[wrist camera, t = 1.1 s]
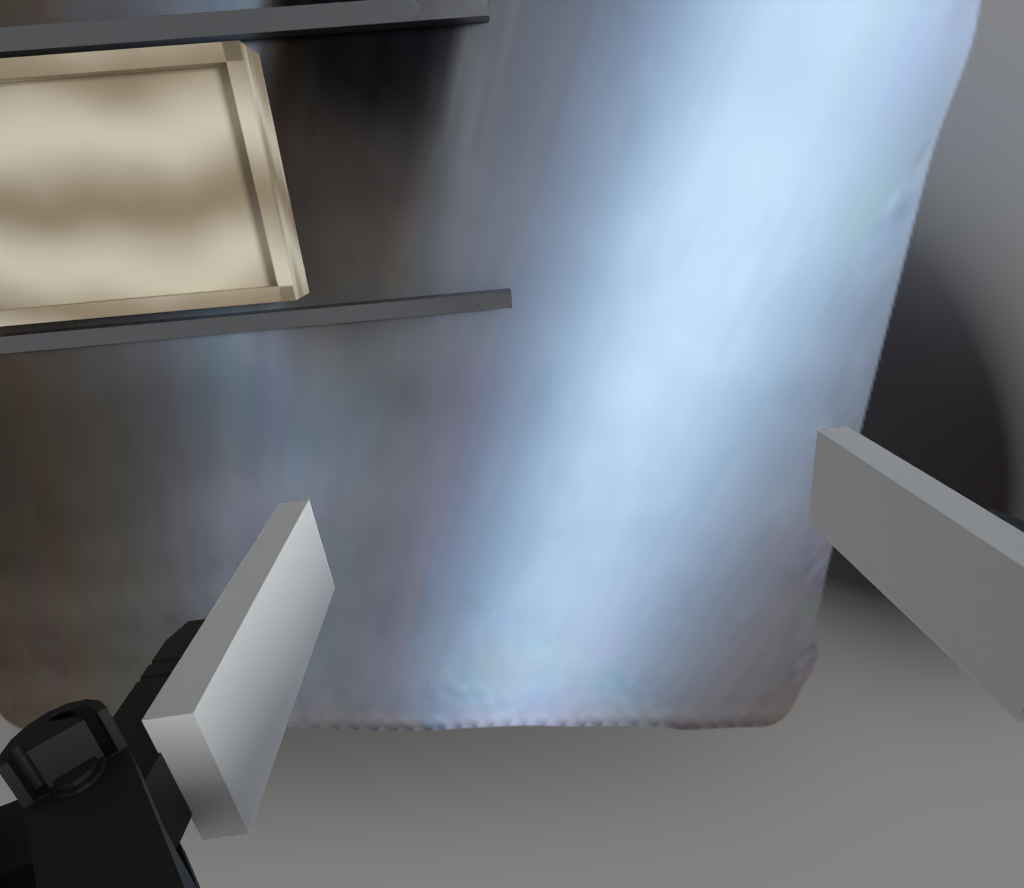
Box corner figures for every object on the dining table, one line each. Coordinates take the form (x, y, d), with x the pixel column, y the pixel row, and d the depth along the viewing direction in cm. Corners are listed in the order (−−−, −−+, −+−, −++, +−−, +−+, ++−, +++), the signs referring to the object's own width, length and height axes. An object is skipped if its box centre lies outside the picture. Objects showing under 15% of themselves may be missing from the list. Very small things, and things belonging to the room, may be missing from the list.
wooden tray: (-97, 88, 30) (-261, 55, 24) (267, 60, 31) (210, 20, 24) (0, 317, 35) (-113, 345, 28) (315, 289, 36) (278, 310, 29)
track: (-114, 43, 30) (-136, 37, 29) (487, -1, 31) (487, -9, 29) (15, 349, 36) (1, 353, 35) (511, 304, 37) (512, 307, 36)
